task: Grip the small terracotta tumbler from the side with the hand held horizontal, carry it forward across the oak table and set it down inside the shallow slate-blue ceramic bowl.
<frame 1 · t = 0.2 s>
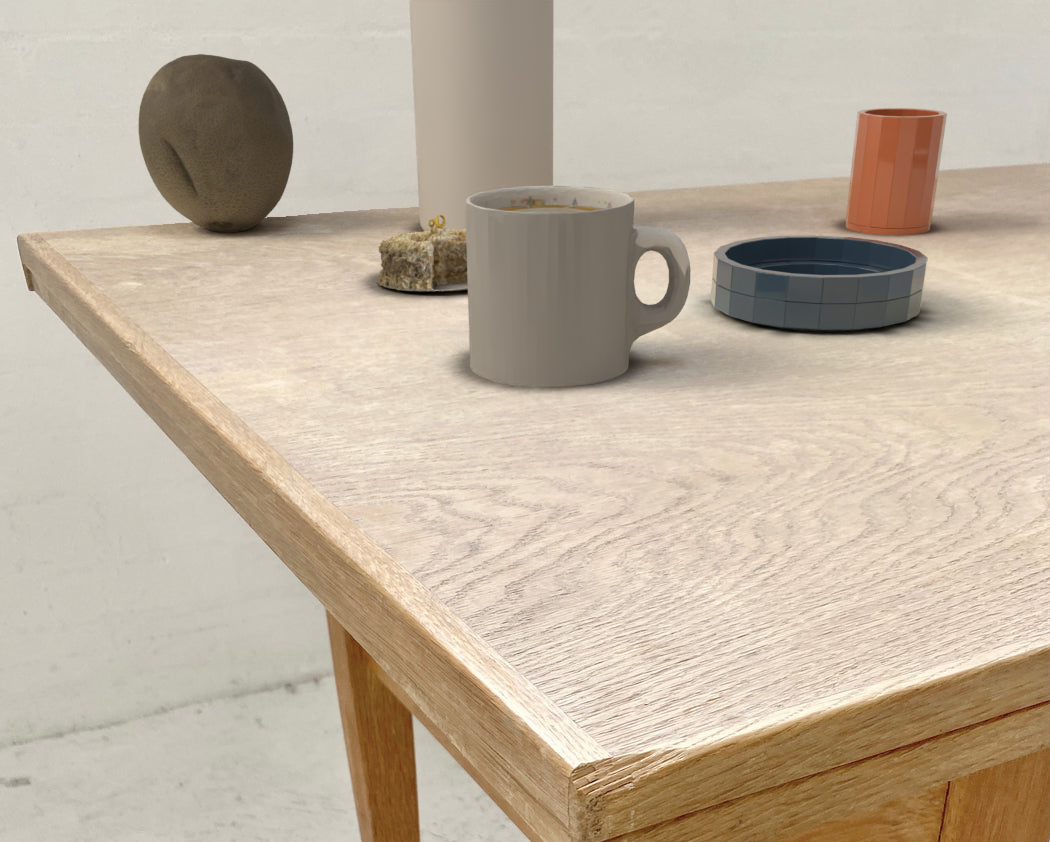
bowl: (813, 312, 93), on the table
brown rounded stone: (228, 232, 123), on the table
tumbler: (887, 230, 120), on the table
cylinder vase: (486, 232, 121), on the table
coffee mug: (576, 372, 80), on the table
cake: (440, 287, 101), on the table
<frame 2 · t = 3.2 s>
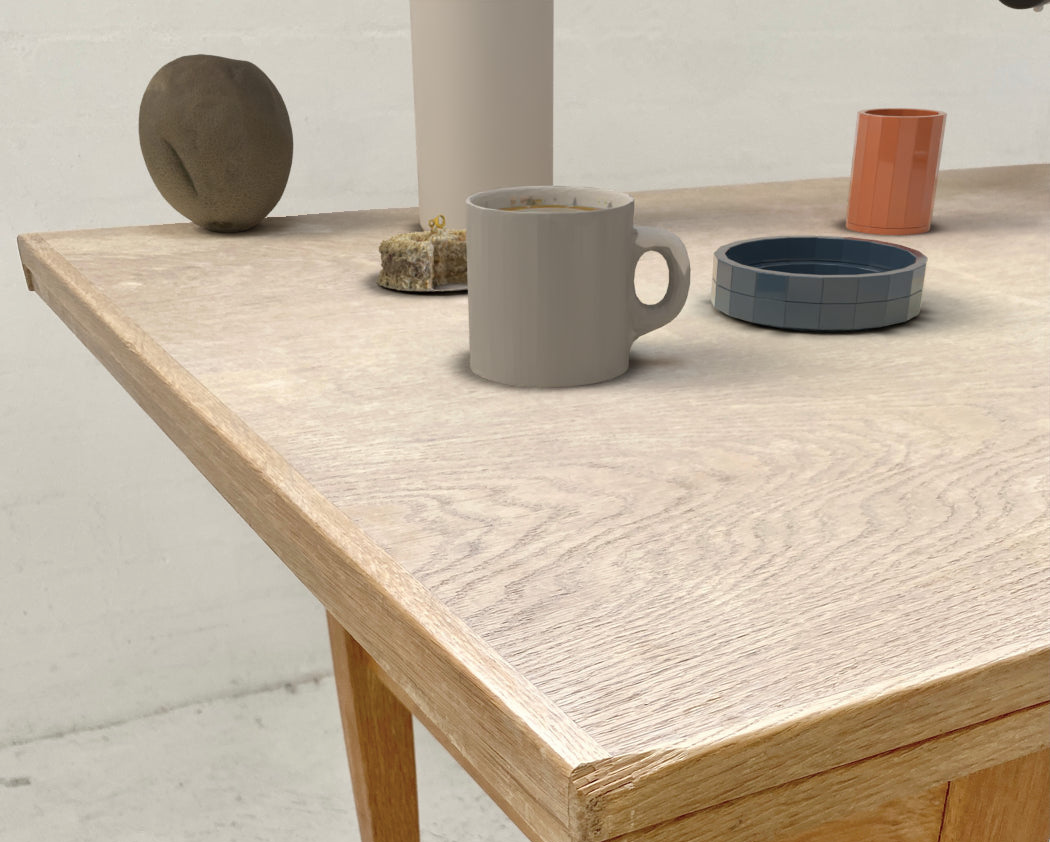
nothing on the table moved.
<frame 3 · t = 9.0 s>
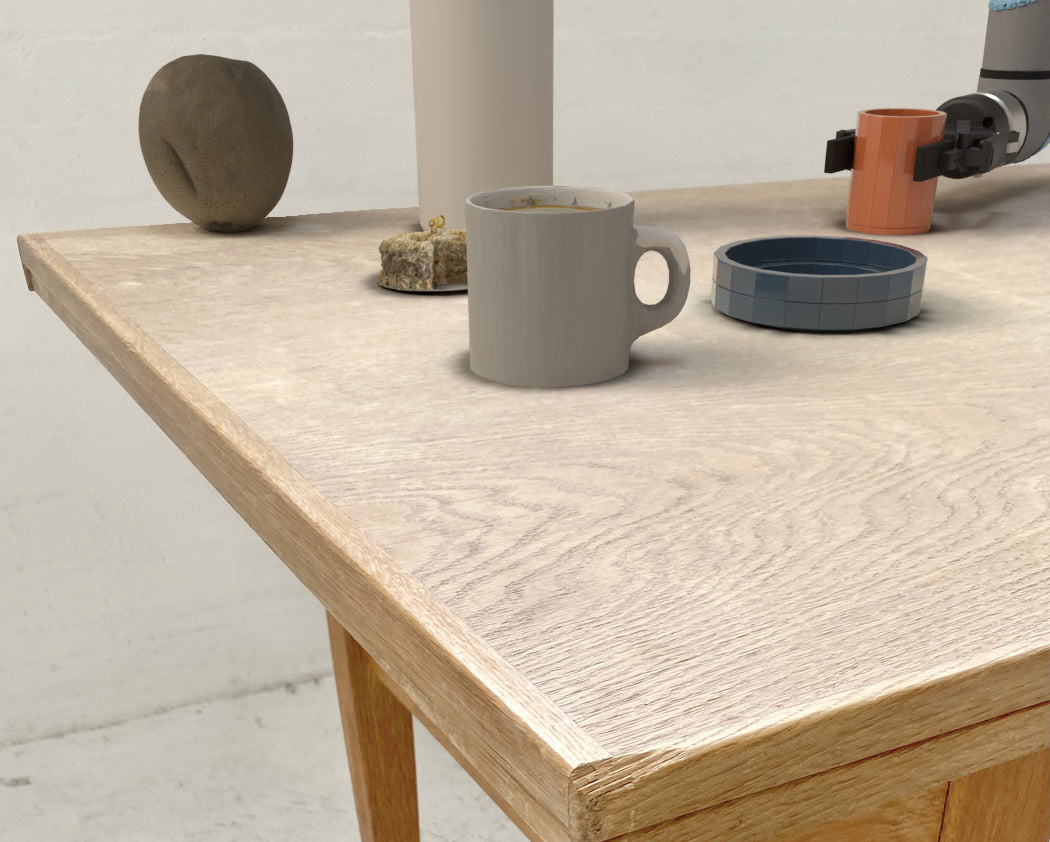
hand: (873, 160, 113), 6 cm above the table, tool horizontal, fingers closed on tumbler, 8 cm apart
tumbler: (887, 230, 120), on the table, touching gripper
everything else where it was.
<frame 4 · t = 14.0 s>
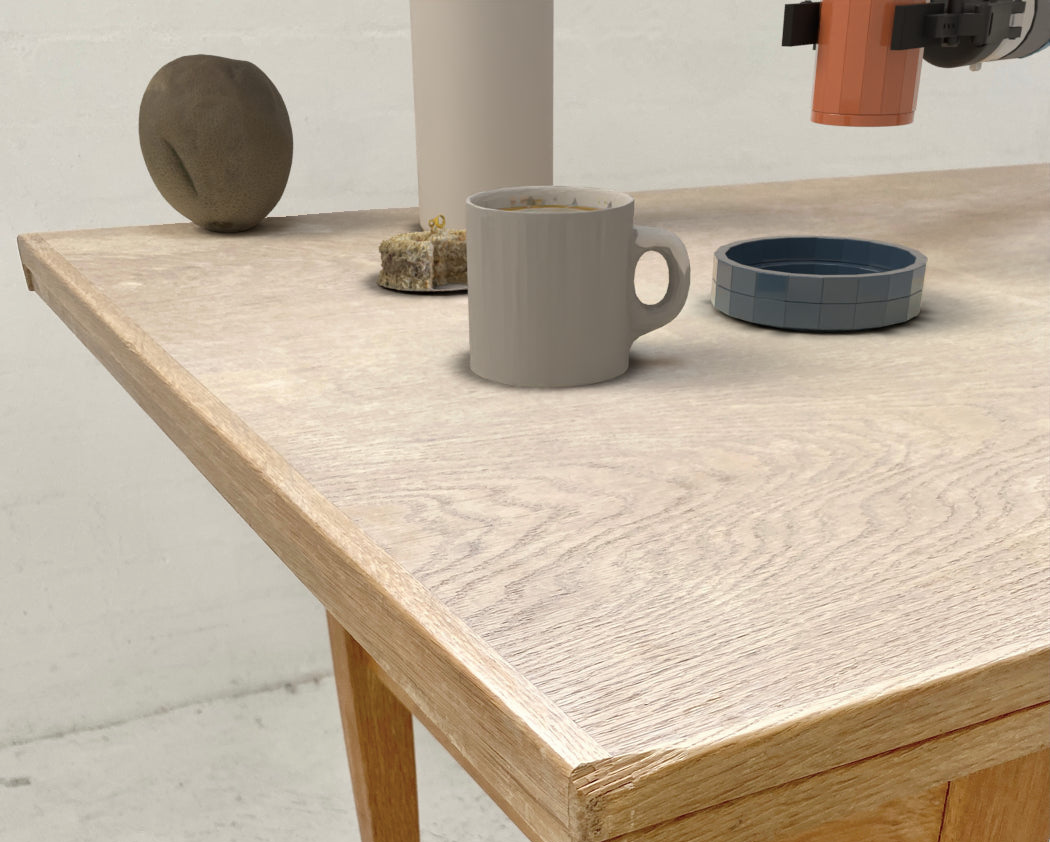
hand: (841, 26, 90), 18 cm above the table, tool horizontal, fingers closed on tumbler, 8 cm apart
tumbler: (861, 121, 97), point 11 cm above the table, touching gripper
everything else where it was.
when the fingers open (7 cm above the table, at t = 19.0 s): tumbler stays where it is, resting on bowl.
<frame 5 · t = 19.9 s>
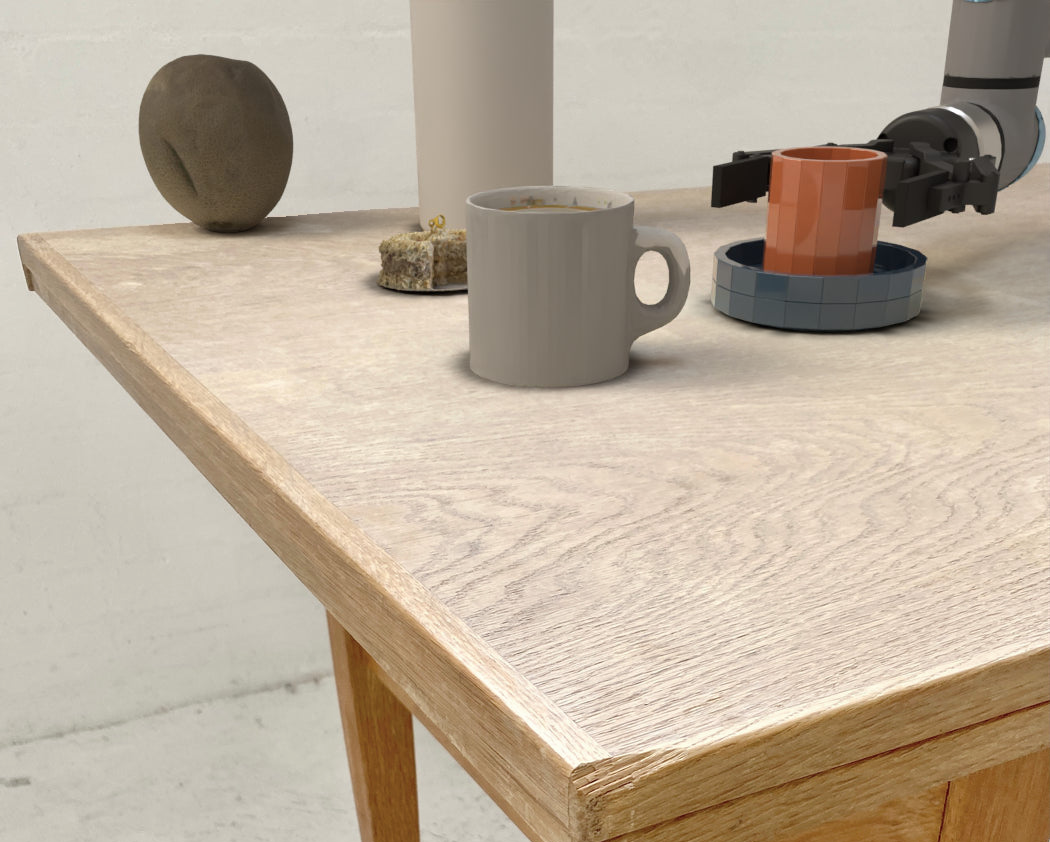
hand: (804, 195, 86), 8 cm above the table, tool horizontal, fingers open, 13 cm apart
tumbler: (813, 304, 92), point 1 cm above the table, touching bowl
everything else where it was.
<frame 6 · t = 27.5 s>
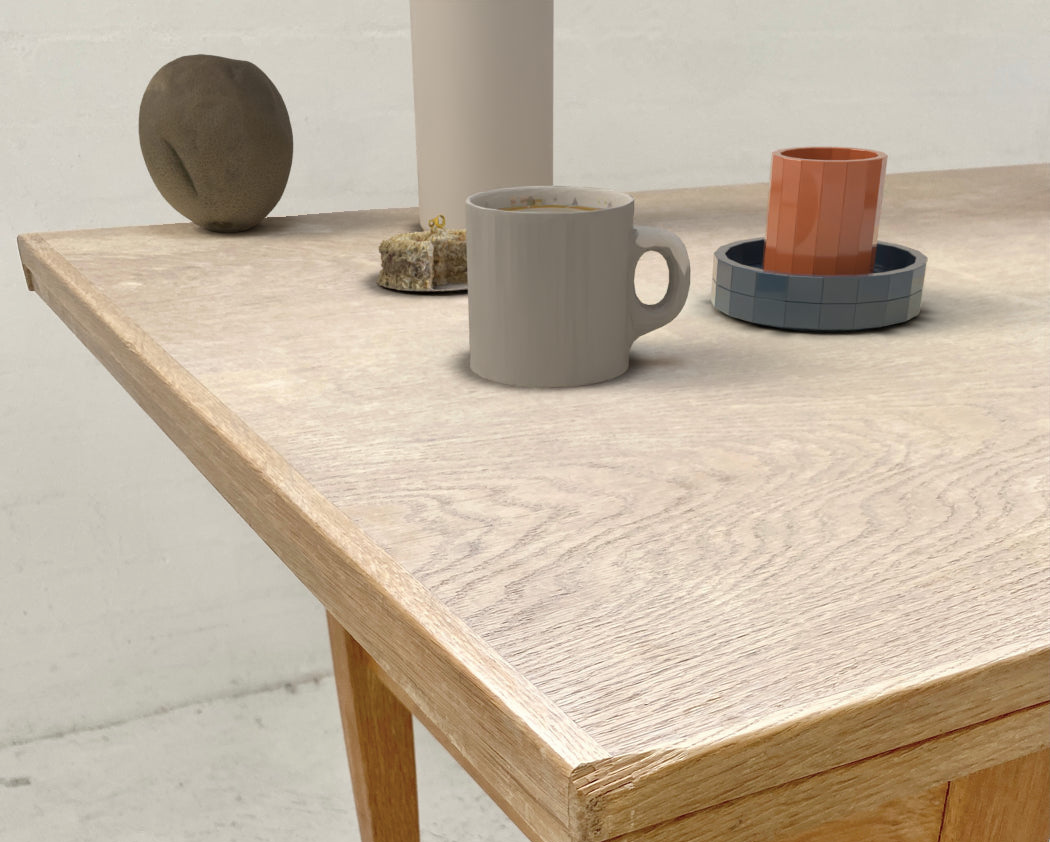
nothing on the table moved.
at the end: tumbler inside the target area in the bowl (0.1 cm from its centre), point 0.6 cm above the bowl's base; tumbler tilted 0°; the gripper is holding nothing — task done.
